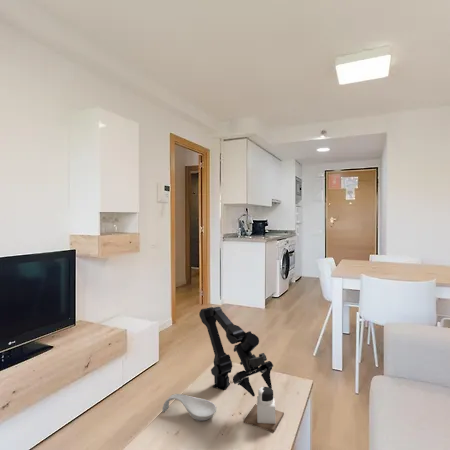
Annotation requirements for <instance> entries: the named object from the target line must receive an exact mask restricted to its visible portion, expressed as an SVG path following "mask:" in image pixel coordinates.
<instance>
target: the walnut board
mask: <svg viewBox="0 0 450 450" xmlns="http://www.w3.org/2000/svg"><path fill="white" fill-rule="evenodd" d="M284 415H285V413H284V411H280V410H277V409H275V424H267V423H258V422H257V403H256V404H254V405H253V406H252V408H251V409H250V410H249V412H248V413H247V415H246V416H245V417H244V419H243V423H245V424H248V425H251V426H254V427H257V428H260V429H264V430H266V431H268V432H269V431H270V432H272V433H275V431H276V430H277V428H278V426H279V424H280V422H281V421H282V419H283V418H284Z"/></svg>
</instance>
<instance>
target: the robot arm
mask: <svg viewBox="0 0 450 450" xmlns="http://www.w3.org/2000/svg"><path fill="white" fill-rule="evenodd" d="M198 315H199V316H198V317H199V318H200V320H201V323H203V324H204V325H205V327H206V329H207V333H208V337H209V340H210V344H211V346H212V350H213V353H214V358H213V367H212V368H210V372H211V375H212V376H213V377H214V379H213V380H214V384H213V385H212V388H215V389H218V390H222V391H225V390H226V389H227V388H228V387H229V386H230V385H231V383H230V376H229V374H230V373H232V370H233V361H232V359H231V355H230V354H227V353H226V352H225V349H224V347H223V342H222V340H221V337H220V334H219V330H218V327H217V323H218V324H219V325H220V327H221V328H222V329H223V330H224V332H225V337H226V339H227V340H228V342H229V343H230V344H231V345H233V346H234V347H233V352H234V353H235V352H236V353H237V356H238V358H239V360H240V362H239V364H240V366H242V367H243V370H241V371H238V372H236V373H235V374H234V375H233V377H232V382H233V384H234V385H237V386H241V387H242V388H243V389H244V390H245V391H247V392H248V393H249V395H251V397H255V395H256V394H255V392H254V390H253V387H252V385H251V382H250V378H249V377H250V376H253V375H256V374H258V373H261V375H260V376H261V377H262V379H263V381H264V382H265V384H266V385H267V386H266V387H269V388H271V389H272V390H273V388H272V387H273V386H272V379H271V371H273V367H274V364H273V362H272V361H270V360H268V357H267V355H266V354H265V352H262V353H259V354H258V356H256V355H255V354H254V353H252V351H253V350H254V349H256V347H257V346H258V345H259V344H260V339H259V337H258V336H257V335H256V334H254V333H252V331H250V330H249V331H247V332H246V331H244V329H243V328H242V327H240V326H239V325H237V324H234V322H232V320H231V319H230V318H229V317H228V316H227V315H226V313H225V312H224V311H223V309H222V307H221V306H216V307H213V306H211V307H210V306H209V307H205V308H202V309H200V311H199V314H198Z"/></svg>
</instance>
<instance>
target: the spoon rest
mask: <svg viewBox="0 0 450 450" xmlns="http://www.w3.org/2000/svg"><path fill="white" fill-rule="evenodd" d="M173 400H177V401H179V402H180V403H181V404H182V406H183V407H184V408H185V410H186V412H187V414H189V415H190V417H191V418H193V419H194V420H195V421H200V422H202V421H207V420H210V419H211V418H212V417H213V416H215V414H216V413H217V406H216V404H215V403H214V402H213V401H210V400H208V399H205V398H200V397H195V396H192V395H186V394H183V393H175V394H171V395H170V396H169V397H167V399H166V400H165V401H164V403H163V406H162V410H161V411H162V413H165V412H166V411H167V410H168V409H169V408H170V407H169V406H170V401H173Z"/></svg>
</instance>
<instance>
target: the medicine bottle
mask: <svg viewBox="0 0 450 450" xmlns="http://www.w3.org/2000/svg"><path fill="white" fill-rule="evenodd" d="M257 391H258V392H257V393H258V396H256V399H257V400H256V405H257V422H258V423H267V424H275V410H276V402H275V396H274V390H273V388H272V389H271V388H269V387H268V386H261V387H259V389H258V390H257Z"/></svg>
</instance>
